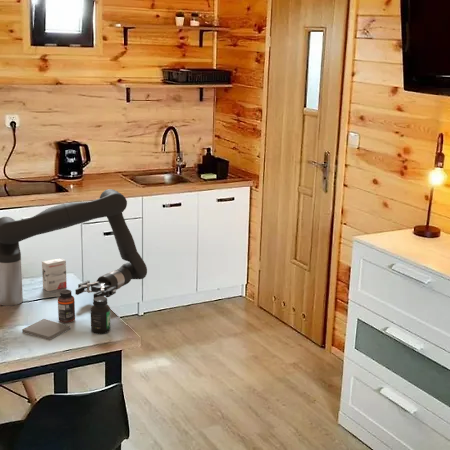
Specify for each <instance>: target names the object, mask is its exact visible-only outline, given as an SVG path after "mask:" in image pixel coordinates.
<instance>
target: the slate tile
mask: <svg viewBox="0 0 450 450" xmlns="http://www.w3.org/2000/svg"><path fill="white" fill-rule="evenodd" d="M69 330H71V325H68V324H66V323H62V322H57V321H54V320H48V319H47V318H43V319H40V320H39V321H36V322H35V323H32V324H30V325H29V326H27V327H24V328H22V329H21V331H22V333H23V334H26V335H31V336H34V337H36V338H40V339H45V340H48V341H50V340H52V339H54V338H56V337H58V336H60V335H62V334H64V333H65V332H67V331H69Z"/></svg>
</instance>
